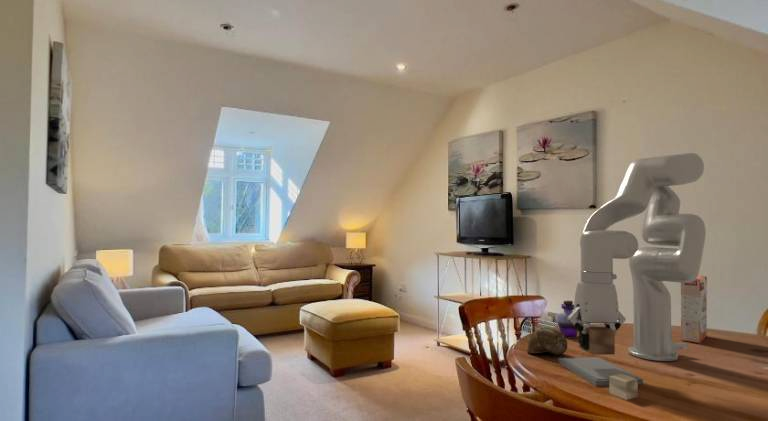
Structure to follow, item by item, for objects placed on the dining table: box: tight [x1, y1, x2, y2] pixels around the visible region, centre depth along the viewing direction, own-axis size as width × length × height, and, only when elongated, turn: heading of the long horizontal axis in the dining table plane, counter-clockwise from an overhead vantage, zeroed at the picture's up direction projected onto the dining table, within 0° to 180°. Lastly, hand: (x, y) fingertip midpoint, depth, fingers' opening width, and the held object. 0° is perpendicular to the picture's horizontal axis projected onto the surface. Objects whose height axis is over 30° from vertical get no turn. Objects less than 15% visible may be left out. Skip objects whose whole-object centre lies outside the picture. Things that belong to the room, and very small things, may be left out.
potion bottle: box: [555, 300, 580, 338], centre depth 154 cm, size 9×9×12 cm
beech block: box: [608, 374, 639, 401], centre depth 101 cm, size 4×4×4 cm
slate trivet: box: [557, 356, 644, 387], centre depth 116 cm, size 12×18×1 cm, turn 6°
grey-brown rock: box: [526, 326, 568, 356], centre depth 133 cm, size 11×9×8 cm
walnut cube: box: [578, 324, 616, 356], centre depth 116 cm, size 6×6×6 cm
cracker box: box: [680, 274, 708, 344], centre depth 152 cm, size 14×6×21 cm, turn 137°
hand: (596, 347), depth 116 cm, fingers closed on walnut cube, 6 cm apart
